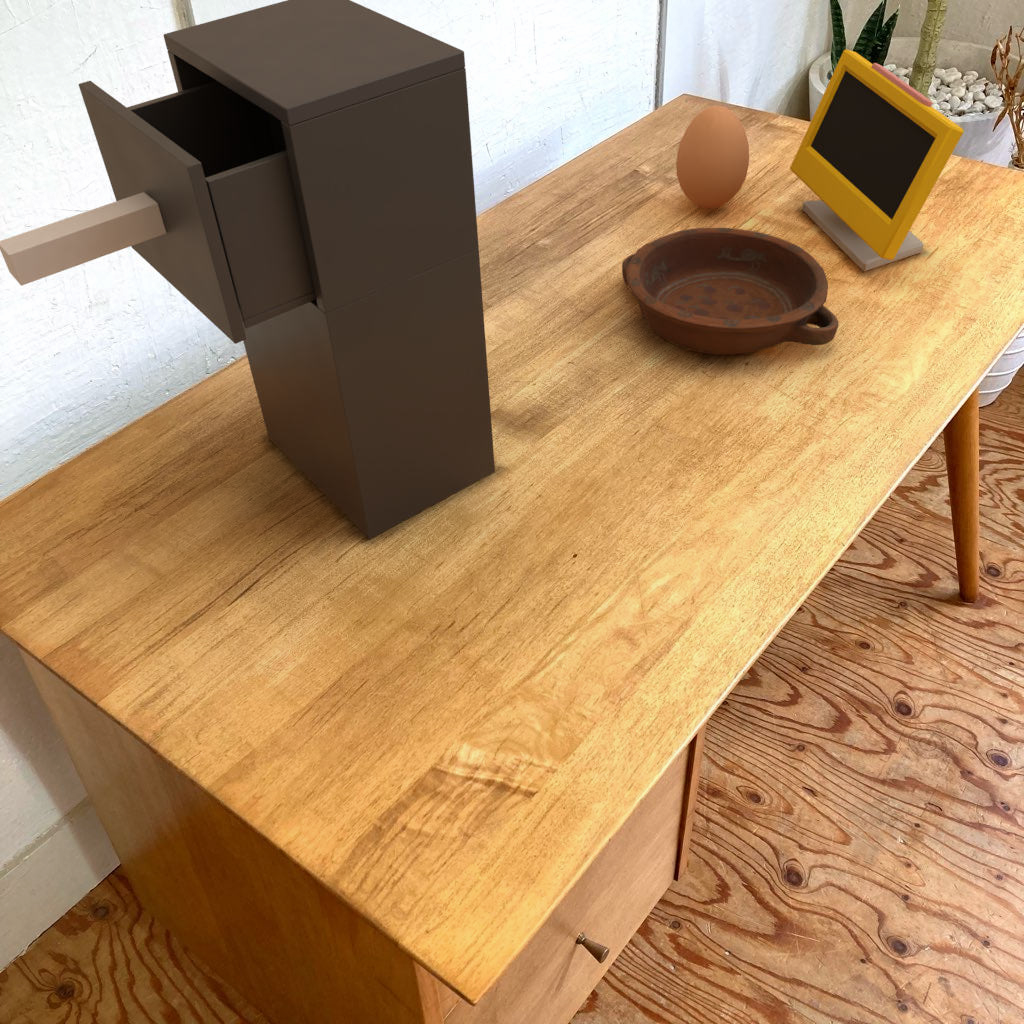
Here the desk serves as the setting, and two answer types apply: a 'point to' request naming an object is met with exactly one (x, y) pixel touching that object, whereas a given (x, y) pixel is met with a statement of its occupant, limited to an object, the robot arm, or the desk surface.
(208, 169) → the drawer
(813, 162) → the toy computer monitor
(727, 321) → the dish
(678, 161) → the egg
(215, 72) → the cabinet
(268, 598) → the desk surface
